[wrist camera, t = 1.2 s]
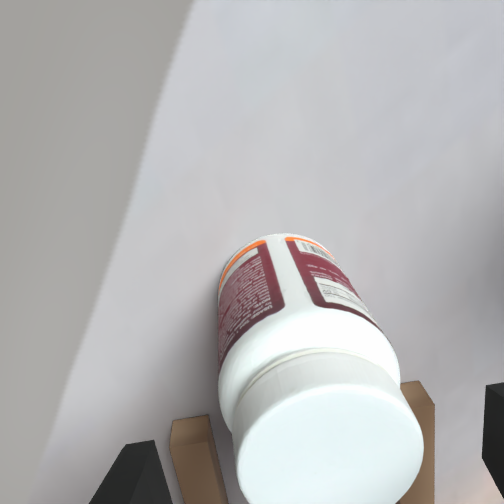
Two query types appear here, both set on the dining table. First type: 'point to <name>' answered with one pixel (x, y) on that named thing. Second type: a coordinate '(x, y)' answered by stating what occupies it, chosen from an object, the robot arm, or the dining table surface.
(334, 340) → the pill bottle
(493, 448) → the robot arm
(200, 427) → the socket block
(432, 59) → the dining table surface
